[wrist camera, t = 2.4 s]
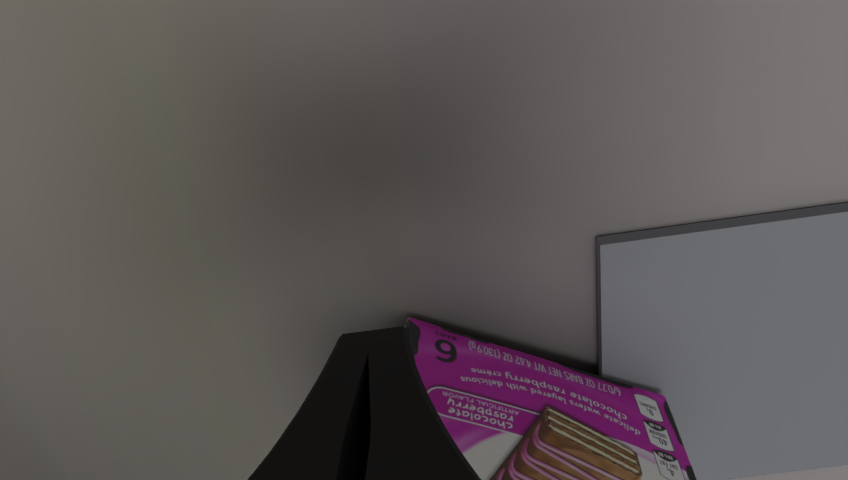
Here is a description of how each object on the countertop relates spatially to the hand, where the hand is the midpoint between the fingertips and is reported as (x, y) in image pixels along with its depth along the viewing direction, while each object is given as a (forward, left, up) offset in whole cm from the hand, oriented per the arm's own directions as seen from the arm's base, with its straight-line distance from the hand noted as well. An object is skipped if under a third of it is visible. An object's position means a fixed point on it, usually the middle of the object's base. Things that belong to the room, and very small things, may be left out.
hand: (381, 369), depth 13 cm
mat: (+14, -10, -10) cm, 20 cm away
